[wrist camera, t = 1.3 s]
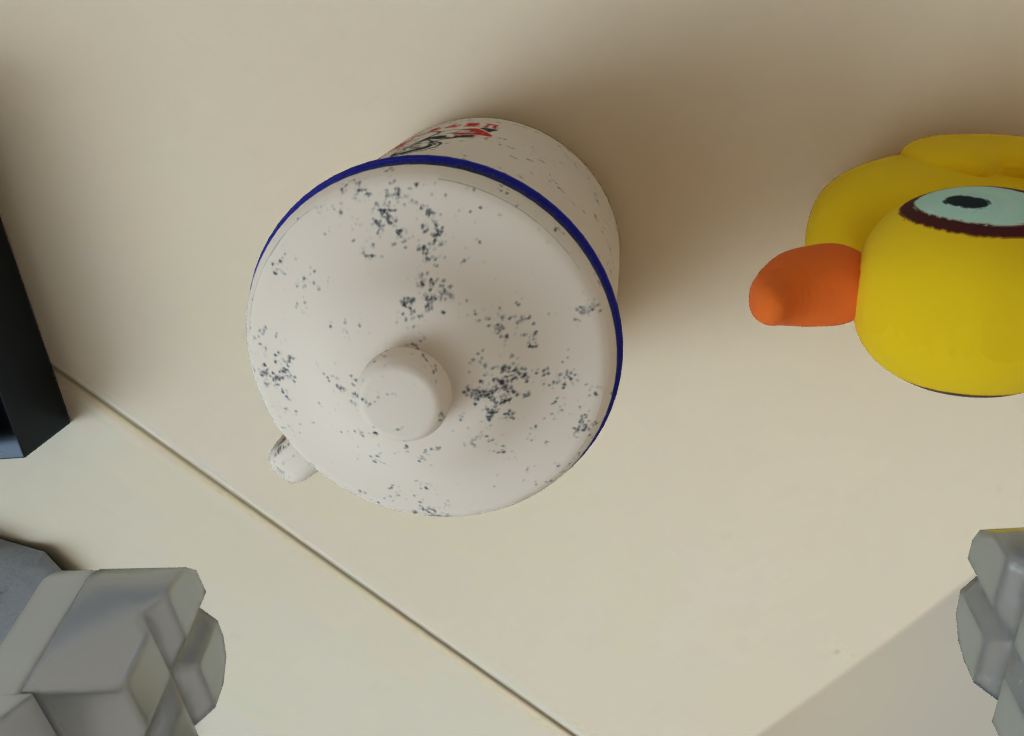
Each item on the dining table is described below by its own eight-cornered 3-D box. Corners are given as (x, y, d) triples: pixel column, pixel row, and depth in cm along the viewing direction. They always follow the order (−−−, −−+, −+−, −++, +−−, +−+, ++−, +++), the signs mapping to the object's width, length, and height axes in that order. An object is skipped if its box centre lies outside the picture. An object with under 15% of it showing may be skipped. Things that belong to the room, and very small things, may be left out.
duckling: (716, 299, 29) (750, 444, 20) (725, 127, 27) (769, 200, 18) (1099, 302, 27) (1327, 460, 18) (1140, 120, 25) (1420, 196, 16)
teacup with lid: (486, 41, 27) (385, 79, 16) (687, 261, 29) (715, 426, 18) (242, 298, 31) (35, 461, 20) (430, 476, 33) (329, 711, 22)
